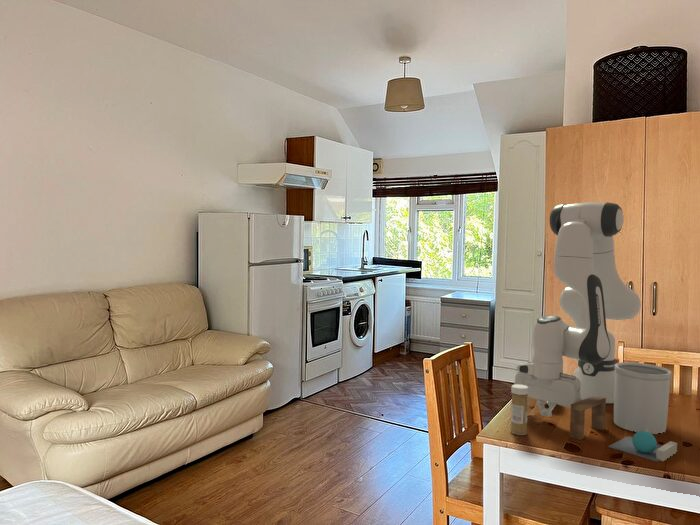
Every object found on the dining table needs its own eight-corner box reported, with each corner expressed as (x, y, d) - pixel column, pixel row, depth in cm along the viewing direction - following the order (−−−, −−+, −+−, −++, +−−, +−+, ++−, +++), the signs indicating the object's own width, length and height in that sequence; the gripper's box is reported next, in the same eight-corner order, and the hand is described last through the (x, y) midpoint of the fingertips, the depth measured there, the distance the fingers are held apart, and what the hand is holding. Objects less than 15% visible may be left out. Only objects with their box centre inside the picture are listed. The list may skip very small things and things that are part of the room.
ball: (655, 456, 137) (634, 443, 141) (663, 437, 136) (642, 425, 140) (646, 459, 134) (625, 446, 138) (655, 441, 133) (633, 428, 137)
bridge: (569, 436, 148) (570, 404, 147) (594, 425, 157) (595, 395, 156) (580, 440, 145) (581, 406, 145) (604, 428, 155) (605, 397, 154)
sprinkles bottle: (530, 434, 149) (531, 386, 149) (519, 437, 147) (521, 389, 146) (517, 429, 153) (518, 382, 153) (506, 432, 151) (508, 385, 150)
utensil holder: (674, 426, 158) (676, 367, 157) (662, 439, 147) (665, 376, 146) (620, 414, 168) (622, 359, 167) (606, 426, 157) (608, 367, 156)
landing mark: (627, 436, 148) (628, 436, 148) (675, 450, 139) (675, 449, 139) (608, 446, 141) (608, 446, 141) (657, 461, 131) (657, 461, 131)
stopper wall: (670, 450, 139) (670, 441, 139) (676, 452, 138) (677, 443, 137) (656, 459, 133) (656, 449, 133) (663, 461, 132) (663, 451, 132)
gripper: (585, 375, 154) (584, 422, 155) (523, 362, 170) (522, 405, 171) (575, 378, 150) (573, 426, 151) (512, 365, 166) (510, 408, 167)
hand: (545, 415), depth 161 cm, fingers closed
